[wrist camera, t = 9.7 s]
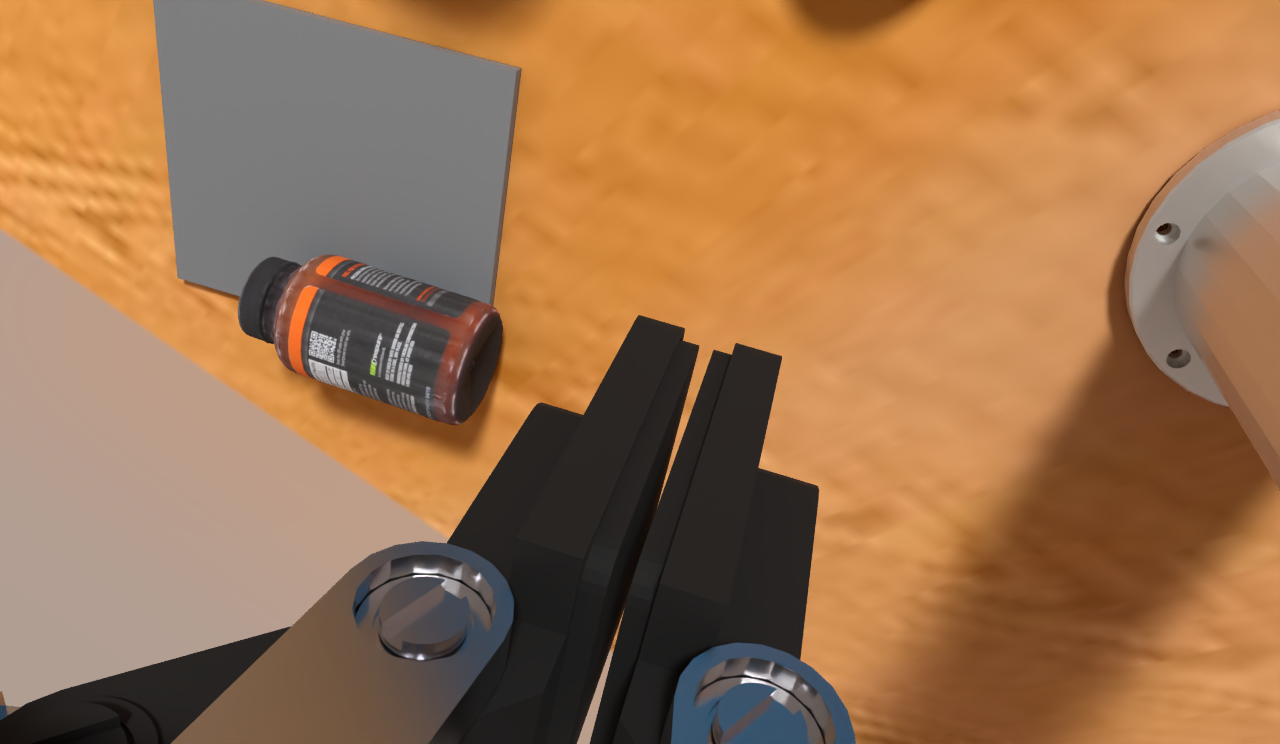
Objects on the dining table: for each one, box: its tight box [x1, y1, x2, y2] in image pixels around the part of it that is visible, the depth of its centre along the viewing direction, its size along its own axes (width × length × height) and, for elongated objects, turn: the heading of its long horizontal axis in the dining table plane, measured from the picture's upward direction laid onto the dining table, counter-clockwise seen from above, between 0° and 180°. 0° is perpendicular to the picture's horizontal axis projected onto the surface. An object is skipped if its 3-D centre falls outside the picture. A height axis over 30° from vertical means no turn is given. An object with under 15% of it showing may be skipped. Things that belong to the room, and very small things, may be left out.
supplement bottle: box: [238, 255, 503, 425], centre depth 43 cm, size 6×6×11 cm
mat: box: [153, 0, 521, 306], centre depth 43 cm, size 17×15×1 cm
